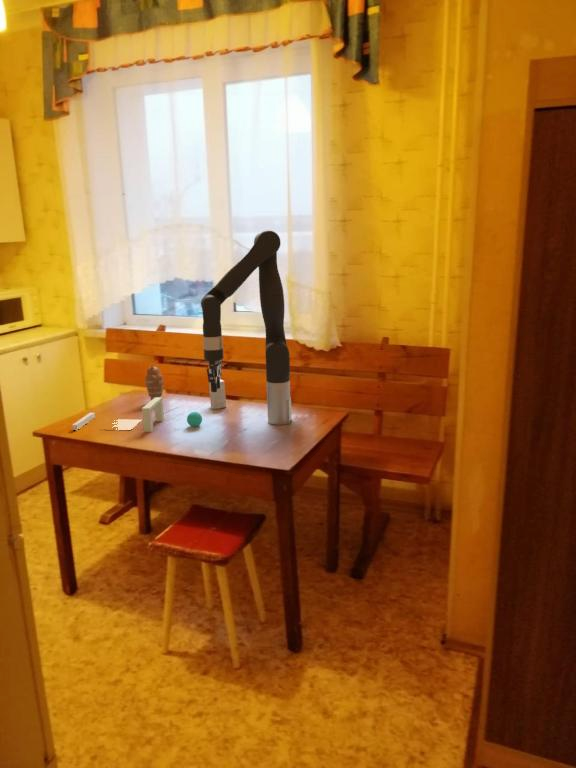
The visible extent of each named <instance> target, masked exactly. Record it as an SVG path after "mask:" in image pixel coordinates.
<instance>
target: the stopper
mask: <svg viewBox="0 0 576 768" xmlns="http://www.w3.org/2000/svg"><path fill="white" fill-rule="evenodd" d="M93 418H95V419H96V413H95V412H89V413H87V414H86V415H85V416H83V417H81V418H80V419H78V420H77V421H76V422H74V423H73V424H71V426H72V431H73V430H78V429H80V428H81V427H82V426H83V425H85V424H86V423H88V422H89V421H90V420H92V419H93ZM92 421H93V420H92ZM89 423H90V422H89ZM89 423H88V424H89ZM85 426H86V425H85ZM82 428H83V427H82ZM82 428H81V429H82ZM81 429H80V430H81ZM78 431H79V430H78Z"/></svg>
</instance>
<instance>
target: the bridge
mask: <svg viewBox="0 0 576 768" xmlns="http://www.w3.org/2000/svg"><path fill="white" fill-rule="evenodd" d="M163 404H164V402H163V397H162V396H161V397H155V398H154V399H153V400H151V399H150V401H149V402H147V403H146V404H145V405H144V406H143V407H141V414H142V425H143V432H144V433H152V432H153V431H154V426H153V416H152V415H153V414H152V410H153V409H154V418H155V419H154V420H155V422H164V420H165V417H164V416H165V414H164V405H163Z"/></svg>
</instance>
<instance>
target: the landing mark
mask: <svg viewBox="0 0 576 768" xmlns="http://www.w3.org/2000/svg"><path fill="white" fill-rule="evenodd" d="M114 421H115V420H114ZM116 421H118V422H116V423H115V422H114V423H112V424H117V423H118V424H117V425H114V426H113V427H118V430H117V428H116V430H115V431H119V430H131V429H132V430H133V429H134V428H136V427H137V426H138V425H139V424H140V423H141V422H143V419H127V418H125V419H123V418H121V419H119V418H118V420H116ZM139 422H140V423H139ZM138 423H139V424H138ZM137 424H138V425H137ZM113 427H112V428H113ZM132 430H131V431H132Z"/></svg>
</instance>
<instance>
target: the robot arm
mask: <svg viewBox="0 0 576 768" xmlns="http://www.w3.org/2000/svg"><path fill="white" fill-rule="evenodd" d="M280 248H281V238H280V236H279V234H278V233H277V232H276V231H273V230H270V229H267V230H266V229H263V230H261V231H259V232H257V234H256V235H255V237H254V240H253V245H252V247H251V248H250V250H249V251H248V252H247V253H246V254H245V256H243V257H242V258H241V260H239V261H238V262H237V263H236V264H235V265H234V266H232V267H231V269H229V270H228V271H227V272H226V273H225V274H224V275H223V277H221V278H220V280H219V281H218V282H217V283H216V285H214V286H213V287H212V289H210V290H209V291H208V292H207V293H206V294H205V295H204V296H203V297H202V298H201V301H200V307H201V312H202V319H203V323H202V337H203V338H202V345H203V359H204V360H205V361H206V362H207V361H208V366H207V368H206V373H207V374H206V375H207V381H208V383H209V382H210V383H211V392H217V389H219V388H220V379H221V377H222V370H223V369H222V368H223V367H222V365H223V364H222V363H223V362H222V360H224V359H225V358H224V342H223V341H224V339H223V336H222V335H223V334H222V333H223V332H222V324H221V318H222V316H221V315H222V314H221V313H222V311H221V310H222V306H221V305H222V304H223V303H224V302H225V301H226V300H227V299H228V298H230V297H232V296H233V295H234V294H235V293H236V292H237V291H238V289H240V288H241V286H243V284H244V283H245V282H246V280H248V278H249V277H250V276H251V275H252V274H253V273H254V271H255V270H257V268H258V288H259V289H258V290H259V302H260V309H261V315H262V319H263V323H264V328H265V348H264V351H265V368H266V369H265V373H266V375H265V376H266V403H267V422H268V423H269V424H271V425H276V426H277V425H279V426H280V425H287V424H289V425H290V424H291V422H290V421H292V397H291V383H290V378H291V377H290V376H291V375H290V373H291V369H290V368H291V367H290V364H291V363H290V350H289V348H288V347H289V346H288V344H287V343H288V342H287V339H286V334H285V329H284V327H285V326H284V324H285V323H284V321H285V295H284V288H283V284H282V280H281V277H280V273H279V269H278V257H277V256H278V251H279V249H280Z"/></svg>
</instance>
